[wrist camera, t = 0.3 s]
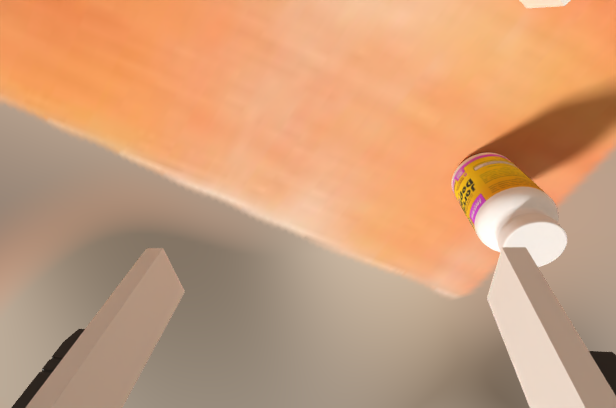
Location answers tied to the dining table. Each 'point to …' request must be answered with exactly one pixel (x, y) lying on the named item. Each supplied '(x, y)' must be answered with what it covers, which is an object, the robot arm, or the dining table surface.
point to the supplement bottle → (508, 207)
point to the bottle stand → (543, 3)
